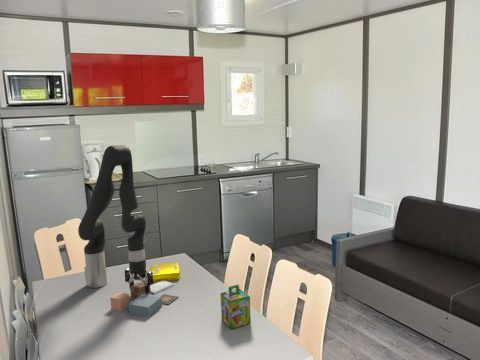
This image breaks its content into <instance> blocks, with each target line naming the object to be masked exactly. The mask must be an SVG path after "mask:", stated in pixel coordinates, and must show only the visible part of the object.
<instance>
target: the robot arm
mask: <svg viewBox="0 0 480 360" xmlns="http://www.w3.org/2000/svg"><path fill="white" fill-rule="evenodd" d="M119 166H120V167H121V171H122V172H121V173H122V174H121V175H122V176H121V177H122V178H121V182H120V186H119V199H120V204H121V228H122V230H123V231H124V232H125V233H130V234H131V233H133V232H134V233H133V234H132V235H131V236H129V237H128V238H127V249H128V250H127V251H128V252H127V253H128V254H127V257H128V268H127V269H124V282H126V283H128V284H129V286H128V287H129V288H130V287H131V286H132V285H134V284H135V280H136V281H141V283H144V284H145V292H146V294H148V295H149V294H150V293H149V292H150V286H151V285H153V284H155V283H154V282H153V275H152V271H150V270H149V271H147V260H146V257H147V256H146V251H145V246H144V245H145V243H144V238H145V232H146V226H147V222H146V219H145V218H146V217H145V216H144V215H143V214H141V213H137V214H134V215H131V214H132V211H135V210H137V209H138V208H139V204H138V199H137V195H136V190H135V184H134V183H135V182H134V170H133V167H134V166H133V157H132V151H131V150H130V147H129V146H127V145H125V144H121V145H119V144H118V145H109V146H107V147H106V148H105V150H104V153H103V155H102V159H101V164H100V167H99V168H100V169H99V173H98V175H97V178H96V182H95V185H94V188H93V190H92V191H91V192H92V193H91V196H90V198H89V199H90V200H89V202H88V205H87V208H86V211H85V212H84V215H83V216H82V219H81V220H80V223H79V224H78V229H77V230H78V231H77V232H78V236H79V238H80V239H81V240H83V241H88V243H87V244H86V245H85V246H84V247H83V253H84V263H85V266H84V267H83V268H84V277H85V286H87V287H88V288H90V289H91V288H92V289H98V288H101V287H102V288H103V287H104V286H105V285H107V283H108V279H107V278H108V277H107V268H106V267H107V266H106V257H105V244H106V238H105V237H106V234H105V226H104V223H103V221H102V220H101V219H100V218H99V217H100V216H101V215H102V214H103V213H104V212H105V211H106V210H107V208H108V207H109V205H110V204H111V202H112V201H113V200H112V199H113V197H114V194H115V184H114V182H113V173H114V170H115V168H116V167H119Z"/></svg>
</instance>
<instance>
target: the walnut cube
mask: <svg viewBox="0 0 480 360" xmlns="http://www.w3.org/2000/svg"><path fill="white" fill-rule="evenodd" d="M129 290H130V298H131V299H134V300H135V299H136V298H138V297H139V296H140V295H142V294H143V295H149V293H148V294H146V292H145V284H144V283H142V282H136V283H134V285H132V286H131V287H129Z"/></svg>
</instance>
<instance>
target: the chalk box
mask: <svg viewBox="0 0 480 360" xmlns="http://www.w3.org/2000/svg"><path fill="white" fill-rule="evenodd" d="M219 295H220V310H221V313H220V315H221V321H222V322H223V323H224V324H225V325H226V326H227V327H228V328H229V329H230V330H232V329H233V330H234V329H235V328H239V327H242V326H246V325H250V324H251V323H252V322H251V296H250V295H248V294H247V293H246V292H245V291H243V290H242V289H241V288H240V285H239V284H236V285H231V286H228V290H227V291H224V292H221V293H220V294H219Z"/></svg>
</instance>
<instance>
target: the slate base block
mask: <svg viewBox="0 0 480 360" xmlns="http://www.w3.org/2000/svg"><path fill="white" fill-rule="evenodd" d="M162 306H163V304H162V299H161V296H156V295H150V294H148V295H143V294H142V295H140V296H139V297H138V298H136V299H134V300H132V301H130V302H129V304H128V307H127V308H128V314H132V315H137V316H141V317H148V318H149V317H151V316H152V315H153V314H154V313H156V312H157V311H158V310H159V309H160V308H162Z"/></svg>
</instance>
